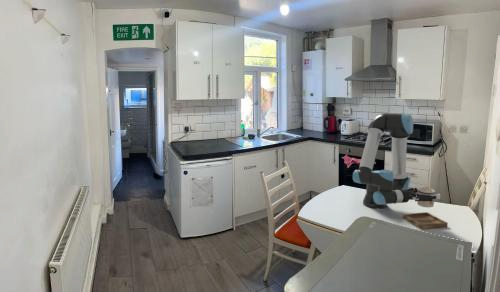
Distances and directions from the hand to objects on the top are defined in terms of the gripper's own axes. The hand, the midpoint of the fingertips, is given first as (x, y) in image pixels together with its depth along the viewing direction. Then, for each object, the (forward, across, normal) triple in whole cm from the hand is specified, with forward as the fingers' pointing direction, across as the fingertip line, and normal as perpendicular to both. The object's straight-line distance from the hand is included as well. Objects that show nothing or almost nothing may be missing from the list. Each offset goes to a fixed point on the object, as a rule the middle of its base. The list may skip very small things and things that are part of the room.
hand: (433, 193), depth 208 cm
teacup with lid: (-4, 0, -7) cm, 8 cm away
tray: (-4, 0, -18) cm, 18 cm away
